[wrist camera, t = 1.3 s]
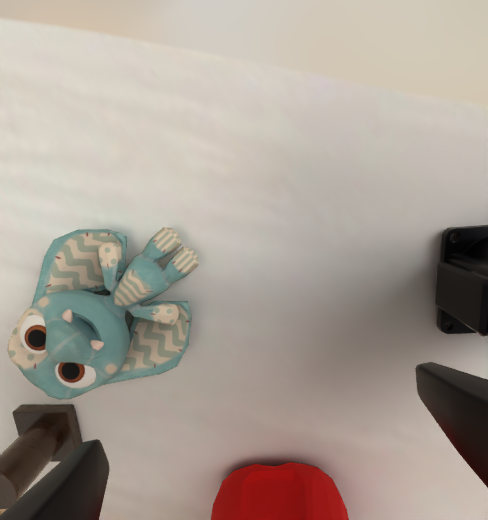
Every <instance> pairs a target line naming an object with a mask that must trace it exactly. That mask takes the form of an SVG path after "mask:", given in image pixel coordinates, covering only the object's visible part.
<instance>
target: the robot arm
mask: <svg viewBox="0 0 488 520" xmlns="http://www.w3.org/2000/svg"><path fill="white" fill-rule="evenodd" d="M453 233H455V235H456V236H455V238H454V239H453V240H451V239H450V236H451V234H453ZM436 305H437V306H438V315H437V327H438V328H439V329H440V330H441V331H442V332H444V333H446V334H461V333H478V334H480V335H481V336H488V225H481V226H466V227H452V228H448V229H446V230H445V231H444V232H443V234H442V243H441V261H440V264H439V265H438V266H437V284H436ZM449 322H450V325H449V326H448V327H445V324H447V323H449ZM416 382H417V391H418V394H419V397H420V399H421V400H422V402H423V403H424V405H425V406H426V407H427V409H428V410H429V412H430V413H431V415H432V416H433V417H434V419H435V420H436V422H437V423H438V425H439V426H440V427H441V429H442V430H443V432H444V433H445V434H446V436H447V437H448V439H449V440H450V442H451V443H452V444H453V446H454V447H455V448H456V450H457V451H458V452H459V454H460V455H461V456H462V457H463V459H464V460H465V461H466V462H467V464H468V465H469V466H470V467H471V468H472V469H473V471H474V472H475V473H476V474H477V475H478V477H479V478H480V479H481V480H482V481H483V483H484V484H485V485H486V486H487V487H488V380H487V379H483V378H480V377H477V376H474V375H471V374H468V373H464V372H461V371H458V370H455V369H452V368H449V367H446V366H442V365H439V364H436V363H433V362H428V363H423V364H419V365H417V366H416ZM108 476H109V462H108V459H107V457H106V454H105V451H104V449H103V446H102V443H101V442H100V440H97V439H96V440H92V441H87V442H84V443H82V444H81V445H80V446H78V447H77V448H76V449H75V450H74V451H73V452H72V453H70V454H69V455H68V456H67V457H66V458H65V459H64V460H62V461H61V462H60V463H59V464H58V465H57V466H56V467H55V468H53V469H52V470H51V471H50V472H49V473H48V474H47V475H45V476H44V477H43V478H42V479H41V480H40V481H39V482H37V483H36V484H35V485H34V486H33V487H32V488H31V489H29V490H28V491H27V492H26V493H25V494H24V495H23V496H22V497H20V498H19V499H18V500H17V501H16V502H15V503H14V504H12V505H11V506H10V507H9V508H8V509H7V510H6V511H4V512H3V513H2V514H1V515H0V520H99V516H100V512H101V507H102V503H103V498H104V494H105V489H106V485H107V480H108Z"/></svg>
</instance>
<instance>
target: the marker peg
mask: <svg viewBox="0 0 488 520" xmlns="http://www.w3.org/2000/svg"><path fill="white" fill-rule="evenodd" d="M13 416H14V420H15V424H16V427H17V431H18V435H19V438H17V439H16V440H15V441H14V442H13V443H12V444H11V445H10V446H9V447H8V448H7V449H6V450H5V451H4V452H3V453H2V454H1V455H0V509H7V508H9V507H10V506H11V505H12V504H14V503H15V502H16V501H17V500H18V499H19V498H20V497H21V496H22V494H23V493H24V492H25V491H26V490H27V488H28V487H29V486H30V485H31V484H32V482H33V481H34V480H35V479H36V478H37V476H38V475H39V474H40V473H41V472H42V470H43V469H44V468H45V467H46V465H47V464H48V463H49V462H50V461H56V462H61V461H62V460H64V459H65V458H66V457H67V456H68V455H69V454H70V453H72V452H73V451H74V450H75V449H76V448H77V447H78V446H80V445H81V444H82V441H81V436H80V432H79V427H78V423H77V419H76V414H75V410H74V405H21V406H19V407H18V408H17V409H16V410H15V411H13Z"/></svg>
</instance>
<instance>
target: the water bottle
mask: <svg viewBox="0 0 488 520" xmlns="http://www.w3.org/2000/svg"><path fill="white" fill-rule="evenodd" d="M211 520H349V518H348V514H347V509H346V507H345V505H344V502H343V500H342V498H341V496H340V493H339V491H338V489H337V487H336V485H335V483H334V482H333V480H332V478H330V477H329V476H328V475H327V474H325V473H324V472H323V471H321V470H320V469H319V468H317V467H313V466H309V465H305V464H299V463H293V462H290V463H286V464H282V465H278V466H275V467H274V466H266V465H259V464H253V465H250V466H247V467H244V468H241V469H238V470H235V471H233V472H232V473H231V474H230V475H229V476H228V477H227V478H226V479H225V480H224V481H223V482H222V485H221V487H220V489H219V492H218V494H217V497H216V499H215V502H214V504H213V509H212V516H211Z"/></svg>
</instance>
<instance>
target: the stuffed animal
mask: <svg viewBox="0 0 488 520" xmlns="http://www.w3.org/2000/svg"><path fill="white" fill-rule="evenodd" d="M180 245H181V242H180V237H179V236H178V234H177V233H176V232H175V231H174V230H173V229H171V228H166V227H164V228H162V229H161V230H160V231H159V232H158V233H157V234H155V235H154V236H153V237H152V238H151V239H150V241H149V243H148V244H147V246H146V248H145V250H144V251H143V252H142V253H141V254H139V255H137V256H135V258H134V259H133V261H132V262H131V263H130V264H129V266H128V267H127V269H126V246H127V237H126V236H125V235H123V234H121V233H117V232H114V231H110V230H76V231H74V232H72V233H69V234H67V235H64V236H62V237H59V238H57V239H55V240H54V241H53V243H52V244H51V246H50V248H49V249H48V251H47V253H46V255H45V256H44V260H43V265H42V269H41V273H40V278H39V281H38V285H37V288H36V292H35V295H34V299H33V302H32V306H31V307H30V308H29V309H28V310H26V311H25V312H24V314H23V315H22V317H21V318H20V320H19V322H18V324H17V327H16V328H15V330H14V331H13V333H12V336H11V338H10V339H9V343H8V353H9V356H10V359H11V361H13V362H14V363H15V364H16V365H17V366H18V368H19V369H20V370H21V372H22V373H23V374H24V376H25V377H26V378H27V379H28V380H29V381H30V382H31V383H32V384H34V385H35V386H37V387H38V388H40V389H41V390H43V391H44V392H45V393H46V394H47V395H48V396H50V397H53V398H56V399H72V398H74V397H77V396H79V395H81V394H83V393H85V392H87V391H90V390H92V389H94V388H96V387H98V386H101V385H105V384H110V383H115V382H119V381H124V380H129V379H134V378H139V377H145V376H151V375H157V374H161V373H163V372H165V371H167V370H169V369H172V368H174V367H176V366H177V365H178V363H179V361H180V360H181V358H182V356H183V354H184V352H185V350H186V349H187V347H188V345H189V336H190V327H191V312H190V307H189V304H188V302H187V301H154V302H152V303H151V304H149V305H147V306H141V303H142V302H144V301H147V300H150V299H152V298H154V297H156V296H158V295H159V294H161V293H162V292H164V291H166V290H167V289H168V287H169V286H170V284H171V283H173V282H174V281H177V280H179V279H181V278H183V277H185V276H187V275H188V274H189V273H190V272H191V271H193V270H194V269H195V268H196V267H197V266H198V265H199V264H198V257H197V255H196V254H195V252H193V251H192V250H191V249H189V248H185V247H182V248H181V249H180V250H179V251H178V252H177V253H176V254H175V255H174V256H173V257H172V258H171V260H170V261H169V262H168V264H167V265H166V266H165V267H164V268H162V267H161V266H160V265H159V264H158V260H160V259H162V258H163V257H165V256H167V255H168V254H170V253H171V252H173V251H174V250H175V249H176V248H178V247H179V246H180ZM125 270H126V271H125ZM123 273H124V274H123ZM122 274H123V276H122ZM121 276H122V278H121V279H120V280H119V278H120V277H121ZM118 280H119V281H118ZM105 289H107V290H108V291H110V292H111V294H110V295H108V296H103V295H98V294H94V293H93V292H97V291H101V290H105ZM126 311H129V312H130V313H131V314H132V316H134V320H133V323H132V326H131V329H130V332H129V329H128V327H127V324H126V322H125V314H126Z"/></svg>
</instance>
